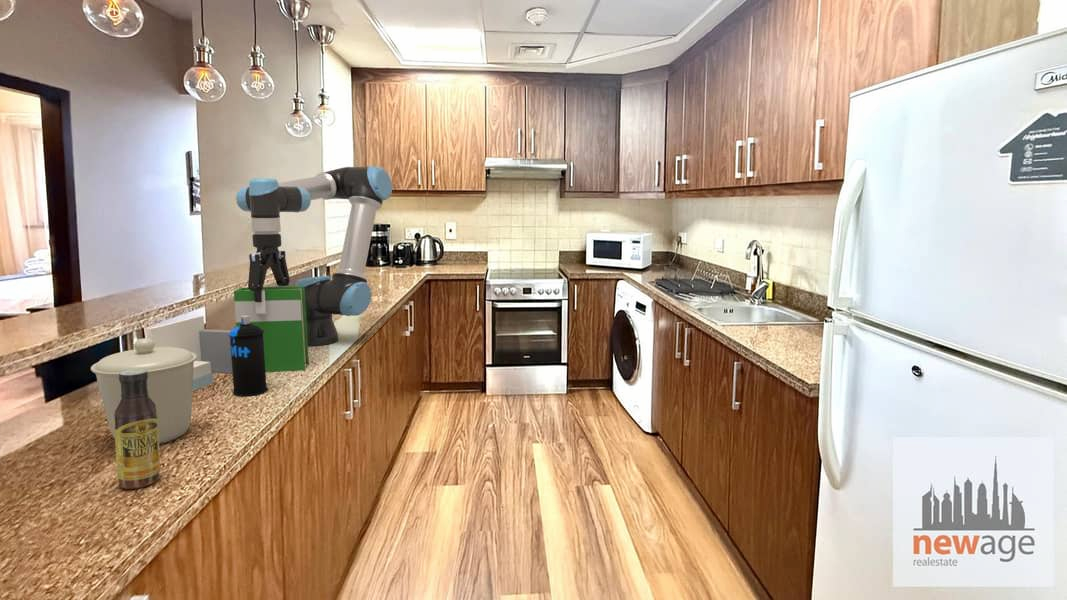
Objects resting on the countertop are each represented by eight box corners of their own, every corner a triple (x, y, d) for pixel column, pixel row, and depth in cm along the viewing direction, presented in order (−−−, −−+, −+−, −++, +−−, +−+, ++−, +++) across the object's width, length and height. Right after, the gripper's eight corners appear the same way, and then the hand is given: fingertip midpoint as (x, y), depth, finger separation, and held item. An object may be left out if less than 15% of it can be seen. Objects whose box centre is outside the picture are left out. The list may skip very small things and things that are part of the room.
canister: (222, 426, 130) (215, 331, 126) (152, 459, 112) (142, 351, 109) (154, 419, 134) (145, 327, 130) (76, 450, 116) (63, 346, 113)
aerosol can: (257, 385, 159) (251, 312, 156) (274, 390, 155) (269, 315, 152) (226, 392, 153) (220, 316, 150) (243, 398, 148) (237, 320, 145)
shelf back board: (204, 369, 175) (199, 315, 172) (207, 369, 175) (203, 315, 172) (152, 388, 156) (147, 328, 154) (156, 388, 156) (151, 328, 154)
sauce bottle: (124, 494, 99) (111, 379, 96) (114, 483, 103) (101, 372, 100) (168, 481, 103) (157, 371, 100) (156, 471, 108) (146, 365, 104)
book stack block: (178, 380, 163) (176, 359, 162) (213, 382, 161) (211, 361, 160) (154, 389, 155) (151, 367, 154) (190, 392, 153) (188, 369, 152)
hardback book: (308, 363, 181) (304, 286, 177) (304, 370, 174) (299, 289, 170) (246, 366, 178) (240, 287, 174) (239, 373, 170) (233, 291, 167)
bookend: (208, 369, 175) (205, 329, 173) (241, 371, 173) (238, 330, 171) (202, 371, 172) (199, 331, 170) (236, 373, 170) (233, 332, 168)
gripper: (277, 231, 181) (281, 304, 184) (229, 234, 160) (235, 316, 163) (299, 231, 180) (303, 304, 183) (254, 235, 158) (259, 317, 162)
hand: (271, 310), depth 173 cm, fingers closed on hardback book, 9 cm apart
